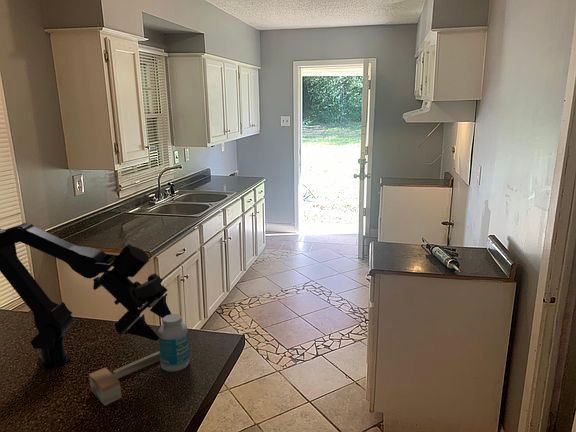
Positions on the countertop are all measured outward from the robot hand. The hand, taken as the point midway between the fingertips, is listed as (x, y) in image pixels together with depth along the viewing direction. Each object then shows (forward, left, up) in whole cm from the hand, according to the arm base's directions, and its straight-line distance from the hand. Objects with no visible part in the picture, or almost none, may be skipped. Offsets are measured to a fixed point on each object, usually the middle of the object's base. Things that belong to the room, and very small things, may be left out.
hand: (166, 330), depth 113 cm
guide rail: (-4, -6, -10) cm, 12 cm away
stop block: (+1, -17, -10) cm, 20 cm away
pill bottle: (+2, +1, -10) cm, 10 cm away
